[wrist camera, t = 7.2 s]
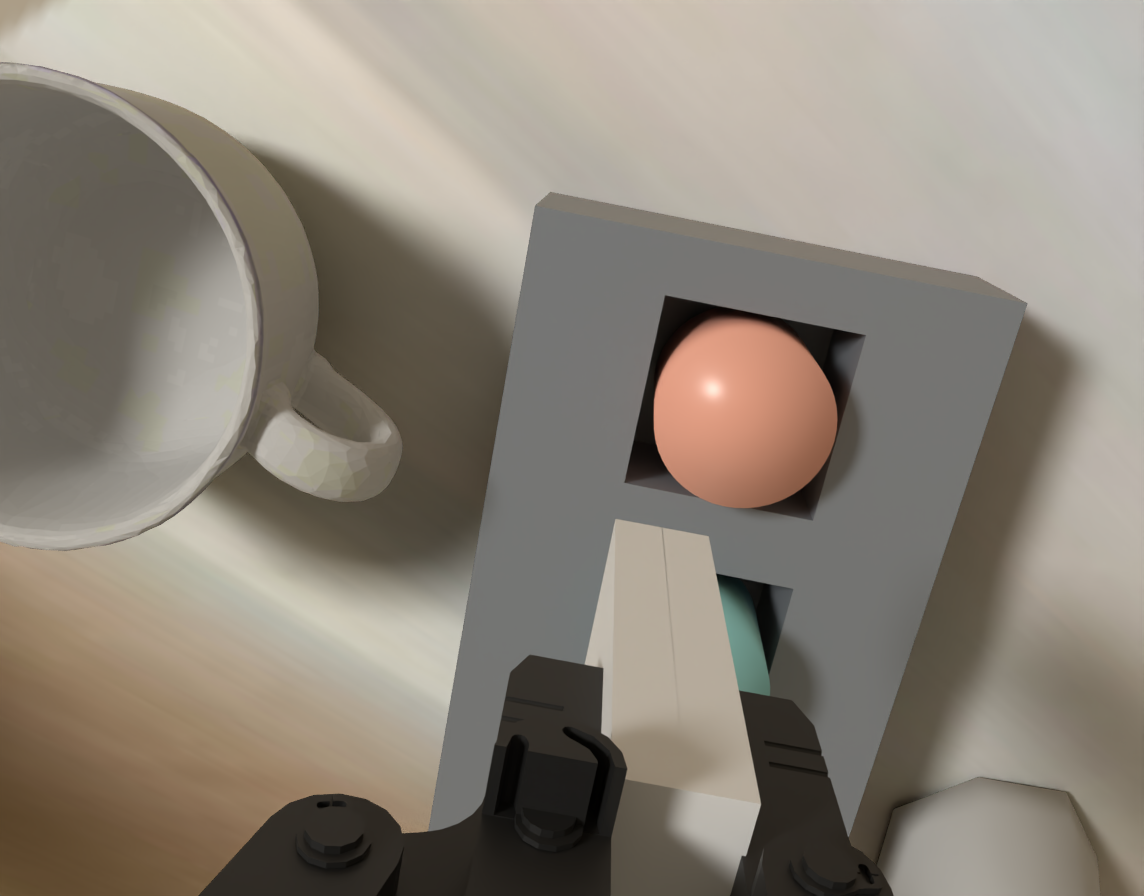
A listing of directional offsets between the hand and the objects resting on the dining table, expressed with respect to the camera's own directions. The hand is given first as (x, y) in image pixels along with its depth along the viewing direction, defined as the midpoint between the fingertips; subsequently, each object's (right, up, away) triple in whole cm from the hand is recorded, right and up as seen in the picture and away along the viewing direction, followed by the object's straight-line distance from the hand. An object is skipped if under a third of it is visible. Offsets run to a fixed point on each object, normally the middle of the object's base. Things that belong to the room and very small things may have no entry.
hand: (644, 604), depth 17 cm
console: (+2, -2, +16) cm, 16 cm away
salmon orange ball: (+3, +4, +12) cm, 13 cm away
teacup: (-11, +7, +14) cm, 19 cm away
